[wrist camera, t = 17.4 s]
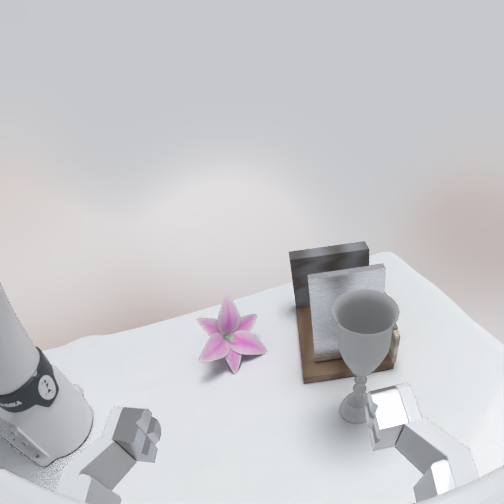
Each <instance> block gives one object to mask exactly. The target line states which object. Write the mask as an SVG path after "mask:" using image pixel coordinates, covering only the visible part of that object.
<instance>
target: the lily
mask: <svg viewBox="0 0 504 504" xmlns="http://www.w3.org/2000/svg"><path fill="white" fill-rule="evenodd" d="M256 318H257V315H256V314H252V315H247V316H243V317H240V315H239V312H238V310H237V308H236V306H235V304H234V302H233V300H232V299H231V297H230V296H229V295H228V294H226V295H225V296H224V298H223V301H222V304H221V308H220V312H219V316H218V320H217V319H212V318H198V319H196V320H197V322H198V324H199V325H200V326H201V327H202V328H203V330H204V331H205V332H206V333H207V334H208V335H209V336H210V338H209V340H208V342H207V344H206V346H205V347H204V349H203V351H202V353H201V355H200V358H199V361H200V362H209V361H214V360H218V359H221V358H223V357H225V358H226V361H227V362H228V364H229V366H230V368H231V370H232V371H233V373H234V374H236V373H237V371H238V369H239V366H240V361H241V354H244V355H261V354H265V353H266V352H267V350H266V348H265V347H264V345H263V344H262V343H261V342H260V341H259V339H258V338H257V337H256V336H255V335H253V334H252V333H251V332H250V331H251V329H252V327H253V325H254V323H255V321H256Z"/></svg>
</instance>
